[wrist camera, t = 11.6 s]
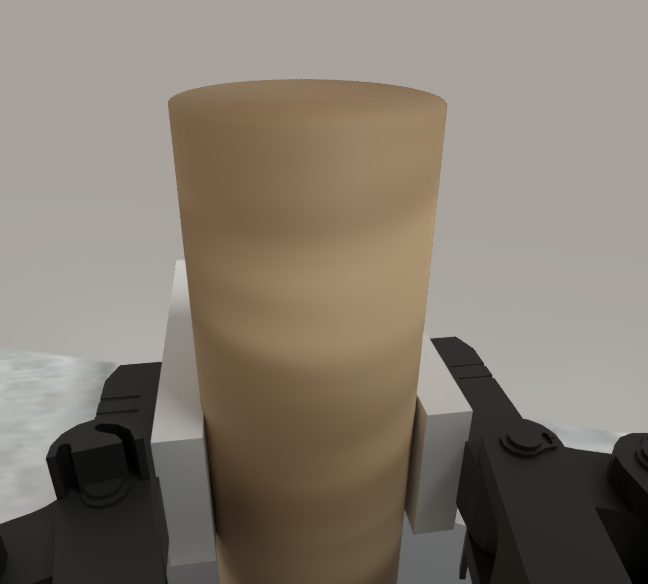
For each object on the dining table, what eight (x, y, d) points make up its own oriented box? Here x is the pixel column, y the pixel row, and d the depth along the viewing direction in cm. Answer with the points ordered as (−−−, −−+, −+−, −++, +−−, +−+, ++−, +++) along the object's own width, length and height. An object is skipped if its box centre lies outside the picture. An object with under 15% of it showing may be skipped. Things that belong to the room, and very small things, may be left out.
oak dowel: (397, 677, 16) (466, 88, 9) (355, 840, 13) (411, 142, 6) (274, 630, 17) (248, 74, 10) (209, 769, 14) (106, 112, 7)
